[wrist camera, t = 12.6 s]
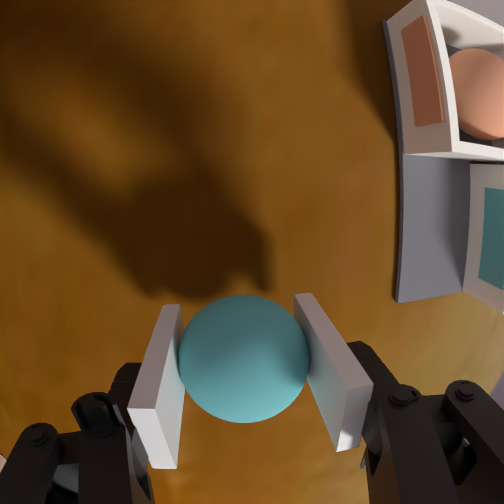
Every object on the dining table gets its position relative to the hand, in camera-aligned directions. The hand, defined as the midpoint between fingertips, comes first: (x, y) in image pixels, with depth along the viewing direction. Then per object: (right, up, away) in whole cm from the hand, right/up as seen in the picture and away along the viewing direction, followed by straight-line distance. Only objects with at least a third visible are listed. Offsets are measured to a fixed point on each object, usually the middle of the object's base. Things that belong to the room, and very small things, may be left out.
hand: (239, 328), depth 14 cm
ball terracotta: (+12, +11, -2) cm, 17 cm away
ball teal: (0, -1, -2) cm, 2 cm away
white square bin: (+17, +5, +3) cm, 18 cm away
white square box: (+12, +12, 0) cm, 17 cm away
